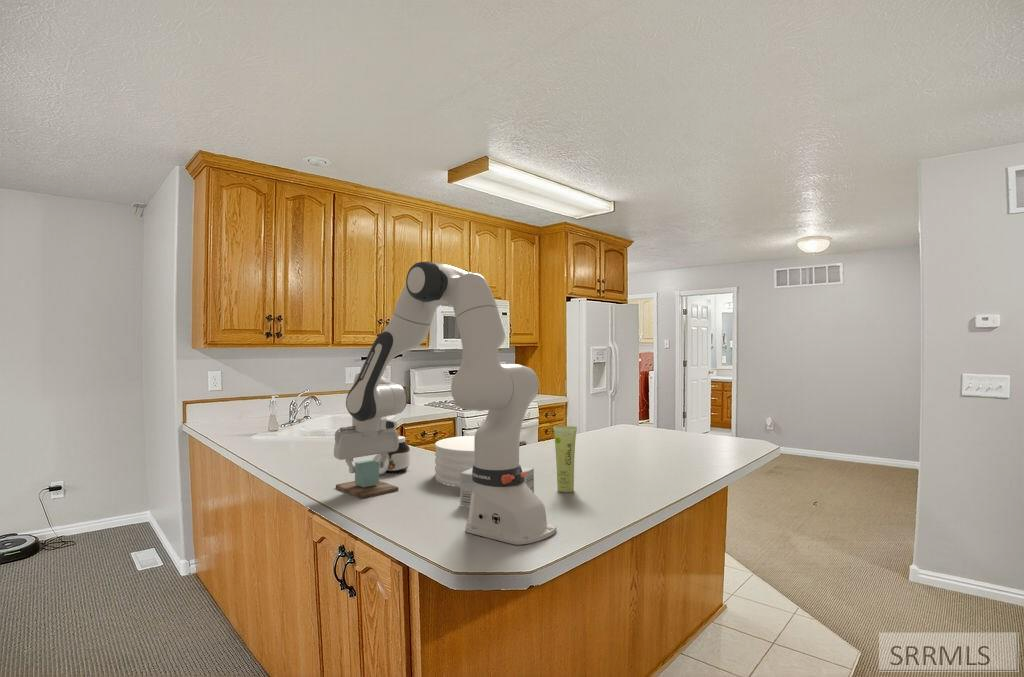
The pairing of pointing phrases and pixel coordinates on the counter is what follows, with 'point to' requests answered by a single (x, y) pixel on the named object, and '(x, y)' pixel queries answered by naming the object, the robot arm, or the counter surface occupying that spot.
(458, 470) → the plate stack
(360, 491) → the post stand
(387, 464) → the spread jar
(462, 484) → the supplement box
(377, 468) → the teal rectangular block
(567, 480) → the tube
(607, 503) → the counter surface
